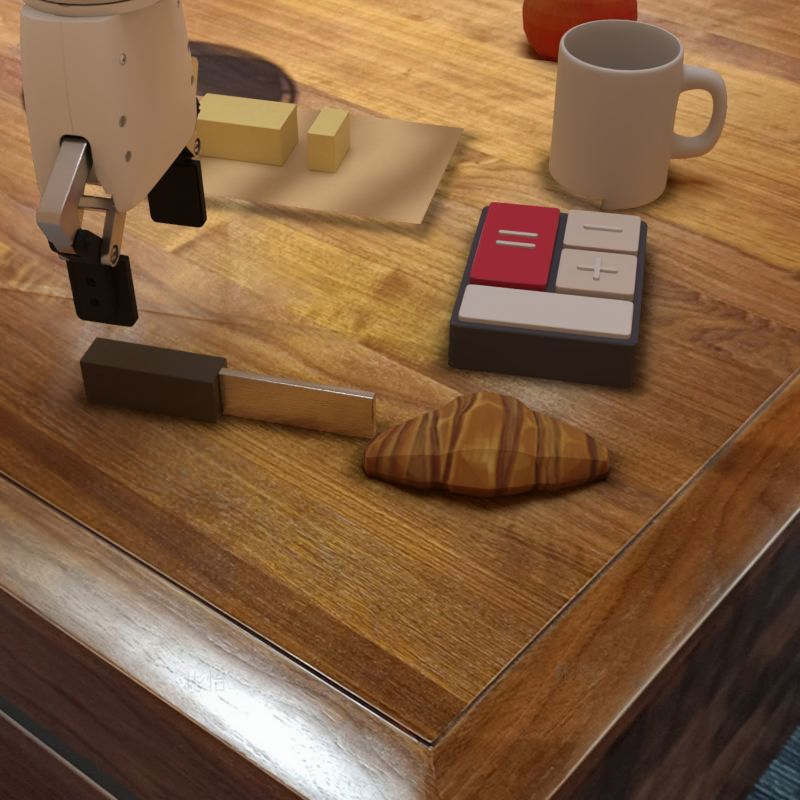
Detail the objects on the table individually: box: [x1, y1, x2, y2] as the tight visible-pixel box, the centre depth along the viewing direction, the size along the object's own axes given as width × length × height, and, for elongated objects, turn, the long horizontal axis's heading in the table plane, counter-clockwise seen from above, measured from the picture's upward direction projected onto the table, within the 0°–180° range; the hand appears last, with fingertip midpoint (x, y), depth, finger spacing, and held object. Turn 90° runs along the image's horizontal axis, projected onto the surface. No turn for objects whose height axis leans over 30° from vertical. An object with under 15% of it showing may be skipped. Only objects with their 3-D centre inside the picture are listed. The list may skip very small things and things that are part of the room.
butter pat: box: [307, 107, 350, 173], centre depth 98 cm, size 2×4×3 cm, turn 166°
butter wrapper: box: [192, 94, 465, 225], centre depth 99 cm, size 22×14×2 cm, turn 76°
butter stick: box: [195, 92, 298, 166], centre depth 99 cm, size 7×4×3 cm, turn 76°
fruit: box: [521, 0, 639, 63], centre depth 111 cm, size 10×10×10 cm
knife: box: [79, 336, 377, 440], centre depth 77 cm, size 17×2×4 cm, turn 76°
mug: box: [548, 20, 728, 210], centre depth 95 cm, size 12×8×11 cm
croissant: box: [360, 390, 611, 500], centre depth 73 cm, size 14×7×5 cm, turn 89°
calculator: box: [447, 201, 648, 389], centre depth 85 cm, size 11×4×15 cm
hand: (145, 269), depth 72 cm, fingers open, 9 cm apart
